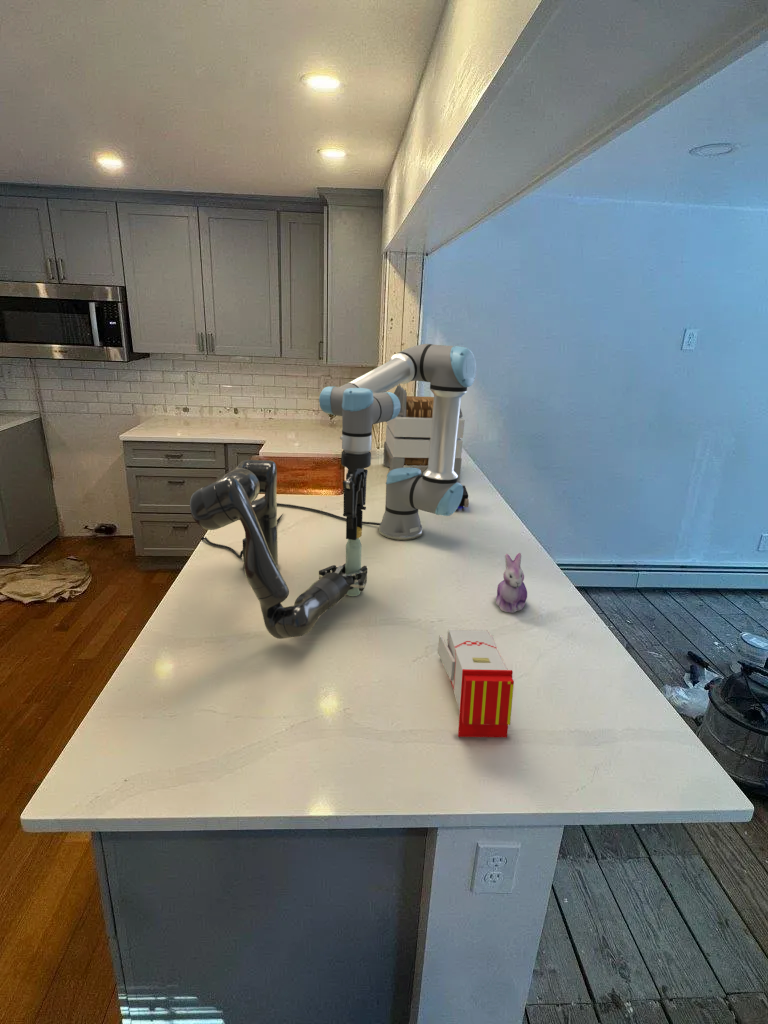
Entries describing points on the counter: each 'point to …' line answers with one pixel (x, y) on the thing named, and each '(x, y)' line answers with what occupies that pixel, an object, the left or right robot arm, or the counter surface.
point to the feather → (279, 518)
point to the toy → (478, 682)
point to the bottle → (353, 561)
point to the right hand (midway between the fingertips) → (354, 535)
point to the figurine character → (464, 499)
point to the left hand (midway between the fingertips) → (357, 567)
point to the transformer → (414, 433)
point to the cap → (359, 532)
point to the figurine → (512, 586)
